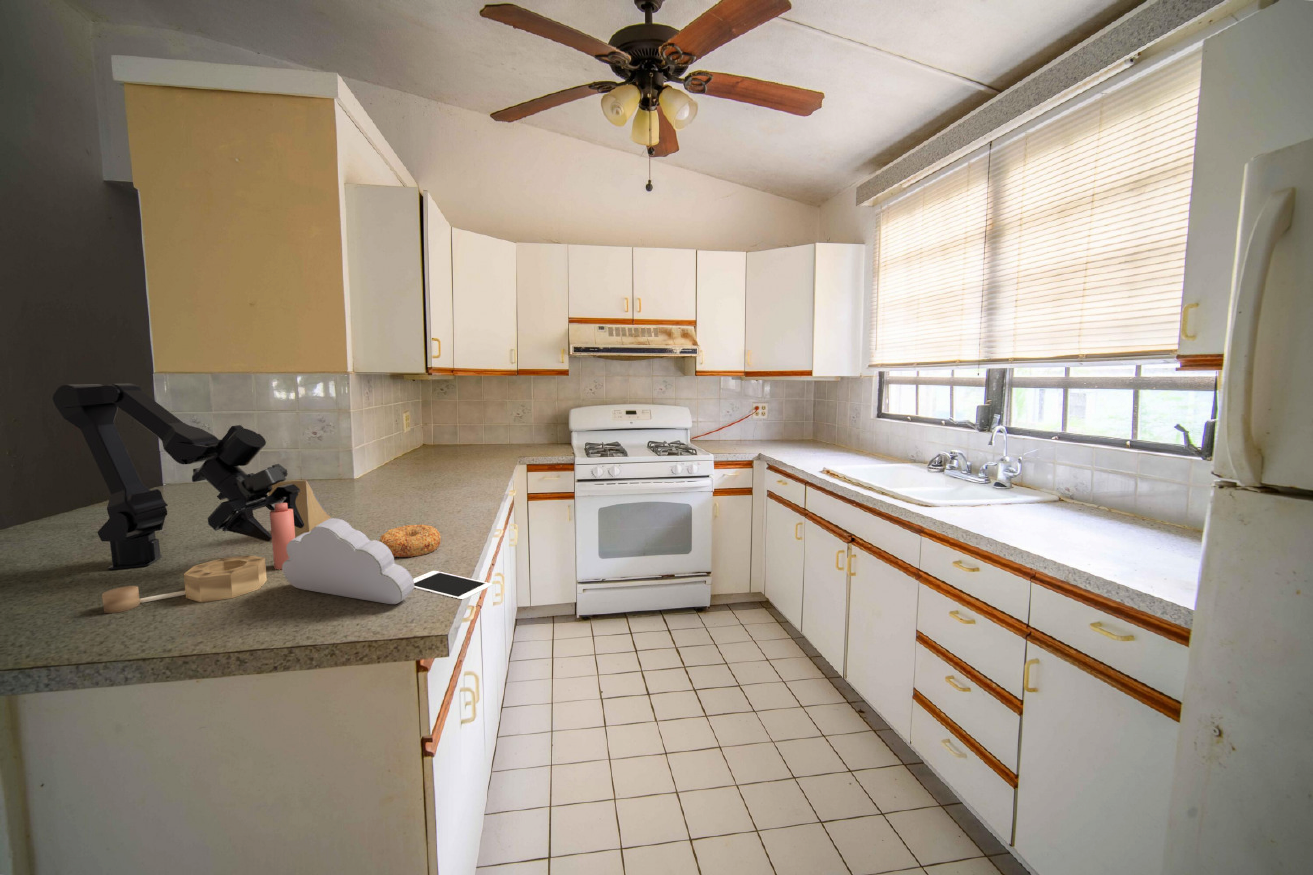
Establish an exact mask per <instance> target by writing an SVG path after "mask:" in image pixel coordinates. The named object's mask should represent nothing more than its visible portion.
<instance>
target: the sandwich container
mask: <svg viewBox="0 0 1313 875" xmlns="http://www.w3.org/2000/svg"><path fill="white" fill-rule="evenodd" d="M287 484H295V485H296V486H297V487H298V488H299V489H300V492H299V493H298V497H297V498H296V502H295V503H296V507H297V509H298V512H299V514H300V516H301V518H302V520H303V522H304V526H303V528H298V527H296V526H294V528H295V538H296V537H298V536H299V535H301V534H303V533H307V532H310V531H311V530H312V529H313V528H314V527H316V526H317V525H319V524H321V523H322V522H324V521H326V520H328V519H330V518H332V517H331V516H330V514H329V513H328V512H327V510H326V509H325V507H324V506H323V504H322V503H321V502H320V500H319V499H318V497H317V495H316V494H315V493H314V491H313V489H312V487H311V486H310V484H309V482H308V481H307V480H306V479H302V480H301V479H300V480H297V479H295V480H293V479H292V480H291V479H290V480H289V479H288V480H287V479H286V480H285V481H283V482H282V481H281V482H279V483H277V484H275V485H273V486H271V487H272V488H273V489H272V490H271V491H270V492H268V496H270V495H271V494H272V493H273V491H274V490H275V489H276V488H277V487H280V486H283V485H287ZM271 511H272V510H270V512H271Z"/></svg>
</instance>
